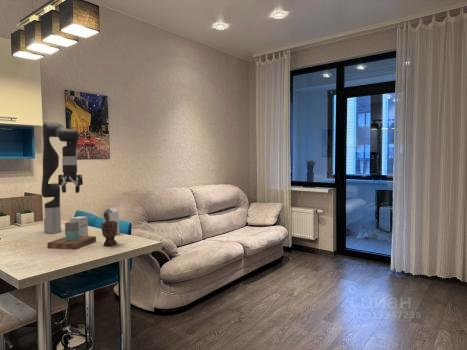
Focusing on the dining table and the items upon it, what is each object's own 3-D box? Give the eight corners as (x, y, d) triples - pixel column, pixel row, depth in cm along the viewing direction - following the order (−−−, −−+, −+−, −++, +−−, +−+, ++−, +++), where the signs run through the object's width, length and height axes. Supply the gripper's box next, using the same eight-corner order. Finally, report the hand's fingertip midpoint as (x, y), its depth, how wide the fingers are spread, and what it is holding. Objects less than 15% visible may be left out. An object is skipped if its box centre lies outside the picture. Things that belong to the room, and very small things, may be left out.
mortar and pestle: (119, 246, 185) (118, 211, 184) (103, 248, 181) (102, 212, 180) (116, 242, 195) (115, 208, 194) (101, 244, 191) (100, 209, 190)
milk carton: (119, 233, 219) (118, 204, 218) (114, 235, 212) (113, 206, 211) (109, 233, 219) (108, 204, 218) (103, 235, 212) (102, 206, 211)
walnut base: (47, 248, 184) (47, 242, 184) (69, 240, 201) (69, 235, 201) (75, 249, 180) (75, 244, 180) (96, 241, 198) (95, 236, 197)
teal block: (65, 240, 189) (65, 231, 188) (71, 238, 193) (71, 229, 193) (73, 240, 188) (73, 232, 187) (79, 238, 192) (78, 230, 192)
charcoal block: (65, 231, 188) (64, 223, 188) (71, 229, 193) (70, 221, 193) (73, 232, 187) (72, 223, 187) (78, 230, 192) (78, 221, 192)
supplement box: (81, 238, 206) (80, 218, 205) (70, 238, 207) (69, 218, 207) (88, 235, 213) (87, 216, 212) (78, 235, 215) (77, 216, 214)
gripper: (54, 164, 186) (55, 193, 187) (76, 164, 183) (77, 193, 184) (63, 164, 194) (64, 192, 194) (85, 164, 191) (86, 192, 191)
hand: (70, 192), depth 189 cm, fingers open, 8 cm apart
